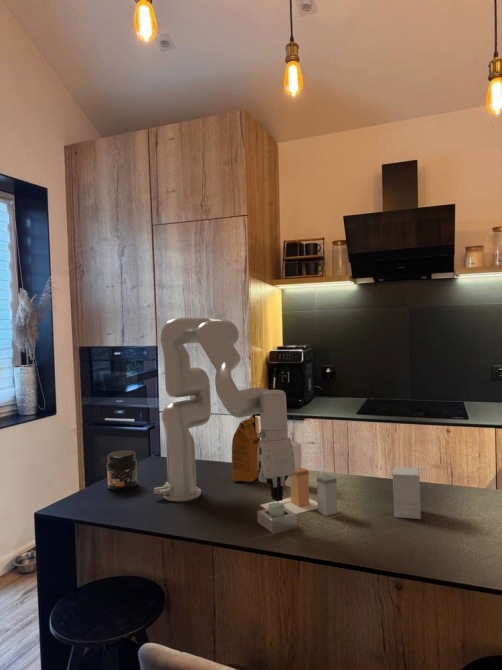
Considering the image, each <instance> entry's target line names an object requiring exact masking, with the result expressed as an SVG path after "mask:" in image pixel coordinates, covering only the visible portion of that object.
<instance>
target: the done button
mask: <svg viewBox="0 0 502 670" xmlns="http://www.w3.org/2000/svg"><path fill="white" fill-rule="evenodd" d="M269 515H270V516H271V517H273V518H275V517H279V516H283V515H285V513H284V504H282V503H272V504H269Z"/></svg>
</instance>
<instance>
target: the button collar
mask: <svg viewBox="0 0 502 670" xmlns="http://www.w3.org/2000/svg"><path fill="white" fill-rule="evenodd" d="M256 513H257V516H256V517H257V523H258V524H259V525H260V526H262V527H263V528H264V529H266V530H268V531H269V532H270V533H271V534H277V533H280V532H284V531H287V530H291V529H293V528H297V527H298V521H297V515H298V514H295V513H293V512H292V511H290V510H288V509H287V508H285V507H284V513H285V515H283V516H279V517H275V518H273V517H271V516H270V515H269V508H268V509H265V508H263V509H262V510H261V509H260V510H257V512H256Z"/></svg>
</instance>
